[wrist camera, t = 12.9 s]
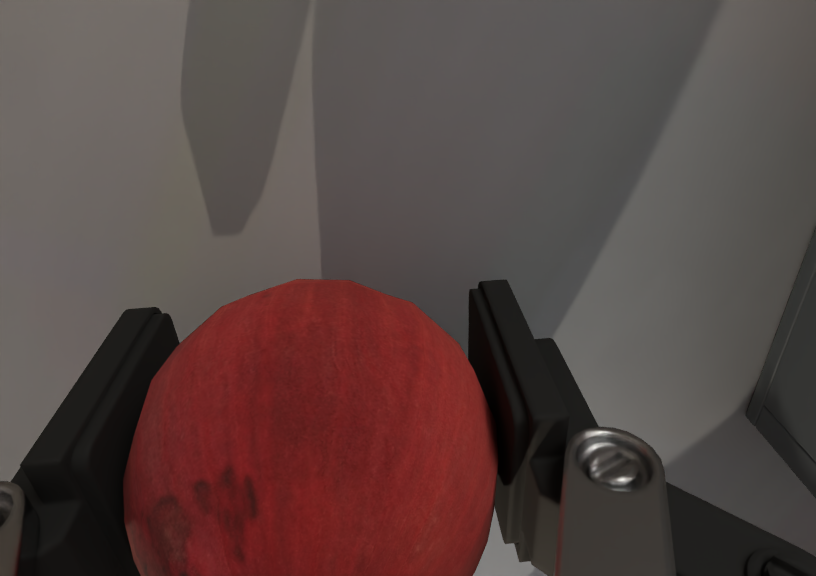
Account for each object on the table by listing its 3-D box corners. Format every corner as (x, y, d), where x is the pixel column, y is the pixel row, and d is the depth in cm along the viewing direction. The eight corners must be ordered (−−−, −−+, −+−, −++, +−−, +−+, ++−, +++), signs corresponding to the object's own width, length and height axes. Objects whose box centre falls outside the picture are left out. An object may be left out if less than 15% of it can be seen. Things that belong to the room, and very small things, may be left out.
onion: (223, 427, 14) (87, 901, 7) (167, 213, 11) (-176, 680, 4) (455, 412, 14) (546, 849, 7) (465, 201, 11) (638, 609, 4)
